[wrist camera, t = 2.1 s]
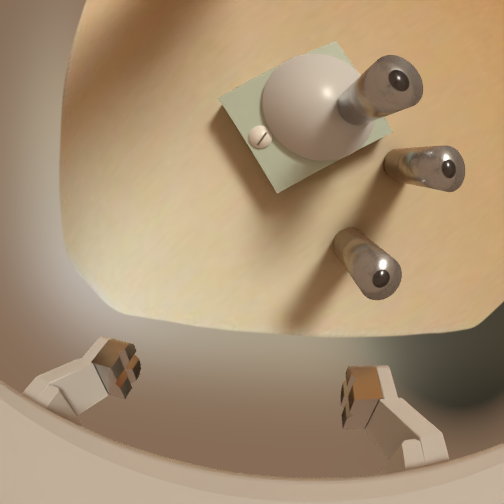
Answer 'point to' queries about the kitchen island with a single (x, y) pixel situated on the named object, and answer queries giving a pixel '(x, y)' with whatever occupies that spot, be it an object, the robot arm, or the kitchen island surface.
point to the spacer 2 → (367, 264)
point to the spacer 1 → (381, 91)
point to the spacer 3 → (426, 167)
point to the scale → (300, 116)
